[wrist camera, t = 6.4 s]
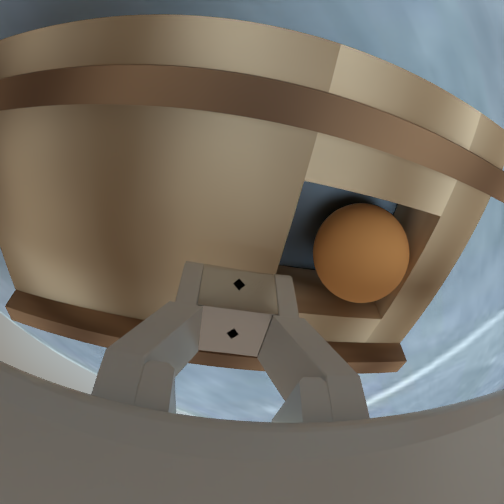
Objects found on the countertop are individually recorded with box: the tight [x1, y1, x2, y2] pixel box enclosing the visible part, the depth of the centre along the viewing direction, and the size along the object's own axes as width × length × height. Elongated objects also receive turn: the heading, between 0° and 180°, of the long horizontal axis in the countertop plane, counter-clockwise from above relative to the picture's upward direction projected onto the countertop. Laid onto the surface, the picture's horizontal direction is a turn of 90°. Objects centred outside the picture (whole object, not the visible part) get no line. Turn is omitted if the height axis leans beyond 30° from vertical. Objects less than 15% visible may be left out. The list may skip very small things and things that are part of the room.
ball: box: [313, 203, 410, 303], centre depth 11 cm, size 4×4×4 cm
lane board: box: [0, 14, 504, 374], centre depth 11 cm, size 20×14×4 cm
